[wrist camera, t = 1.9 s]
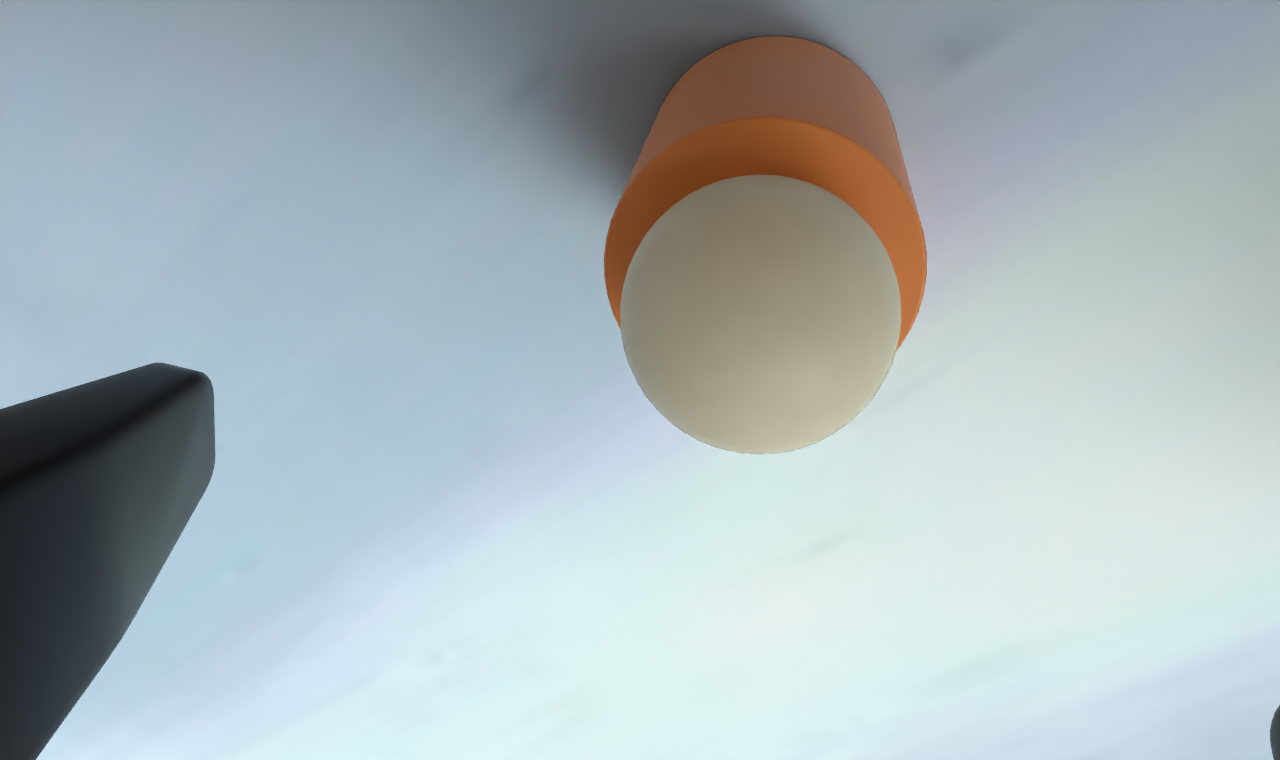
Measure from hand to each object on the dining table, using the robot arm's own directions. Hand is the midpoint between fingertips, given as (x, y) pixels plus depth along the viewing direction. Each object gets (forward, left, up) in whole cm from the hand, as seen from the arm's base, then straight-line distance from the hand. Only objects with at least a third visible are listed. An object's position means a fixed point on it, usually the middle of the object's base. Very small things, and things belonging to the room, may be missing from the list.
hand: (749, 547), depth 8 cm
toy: (0, 0, -10) cm, 10 cm away
